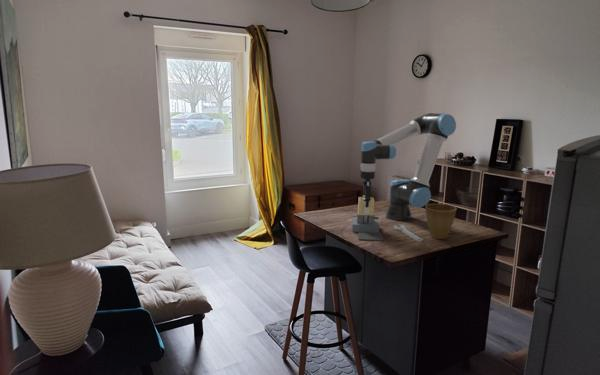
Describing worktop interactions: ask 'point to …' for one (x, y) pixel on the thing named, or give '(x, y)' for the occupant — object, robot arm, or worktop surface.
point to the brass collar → (361, 206)
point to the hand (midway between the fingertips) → (365, 209)
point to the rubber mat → (370, 236)
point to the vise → (365, 224)
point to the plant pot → (440, 219)
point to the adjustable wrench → (408, 233)
